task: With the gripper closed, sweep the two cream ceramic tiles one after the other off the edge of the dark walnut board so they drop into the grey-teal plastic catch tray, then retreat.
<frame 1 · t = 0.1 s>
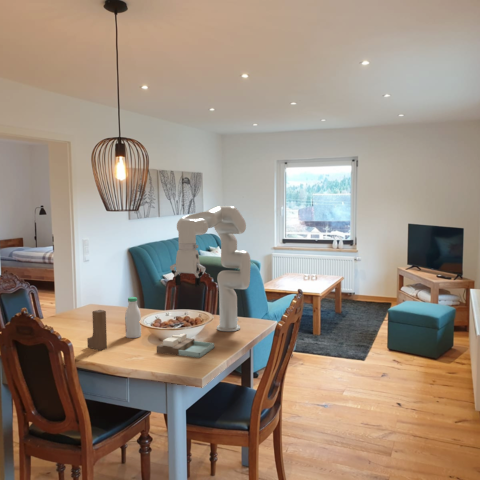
hand: (187, 285, 203), 31 cm above the table, fingers open, 9 cm apart
catch tray: (196, 351, 209), on the table
tile a: (179, 339, 217), point 3 cm above the table, touching walnut board
walnut board: (176, 348, 213), on the table
wooden block: (97, 348, 215), on the table
milk bottle: (133, 336, 234), on the table
tile b: (170, 344, 210), point 3 cm above the table, touching walnut board
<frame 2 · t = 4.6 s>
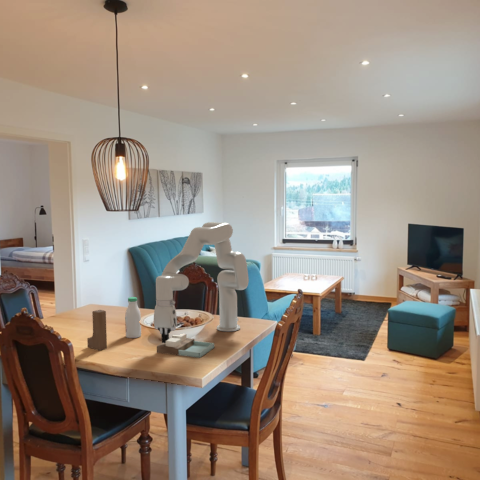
hand: (165, 342, 210), 4 cm above the table, fingers closed
tile b: (173, 345, 209), point 3 cm above the table, touching walnut board
everything else where it was.
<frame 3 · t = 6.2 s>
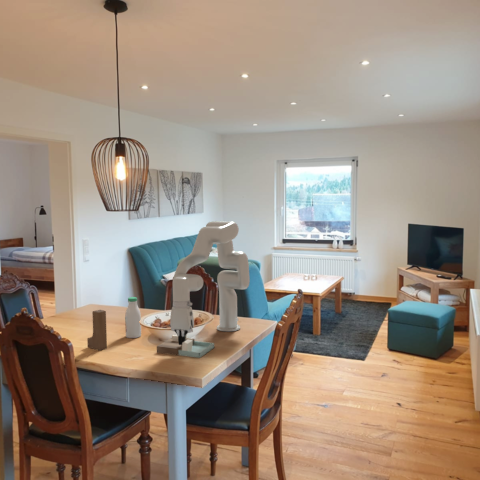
hand: (182, 344, 207), 4 cm above the table, fingers closed
tile b: (184, 346, 206), point 3 cm above the table, tilted 95°, touching catch tray
everything else where it was.
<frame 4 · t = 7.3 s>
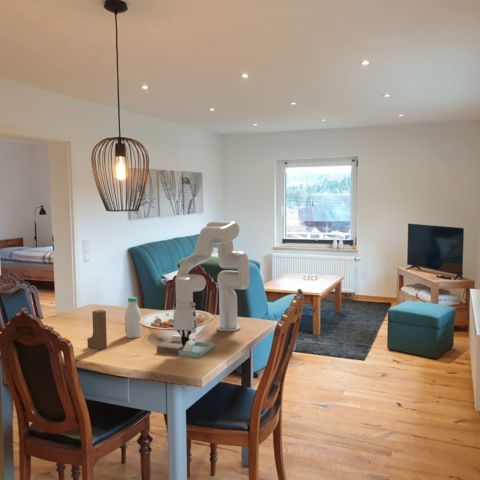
hand: (185, 344, 207), 4 cm above the table, fingers closed
tile b: (186, 345, 206), point 4 cm above the table, tilted 115°, touching catch tray, gripper
everything else where it was.
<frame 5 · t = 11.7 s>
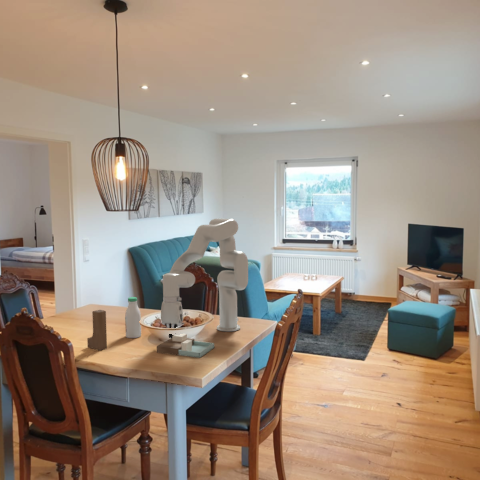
hand: (171, 337, 218), 4 cm above the table, fingers closed
tile a: (179, 340, 217), point 3 cm above the table, touching gripper, walnut board
tile b: (184, 346, 207), point 3 cm above the table, tilted 90°, touching catch tray
everything else where it was.
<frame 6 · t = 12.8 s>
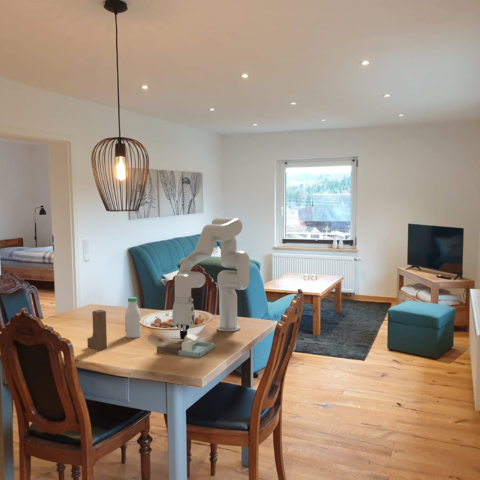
hand: (183, 338, 216), 4 cm above the table, fingers closed
tile a: (190, 341, 214), point 3 cm above the table, tilted 19°, touching walnut board
everything else where it was.
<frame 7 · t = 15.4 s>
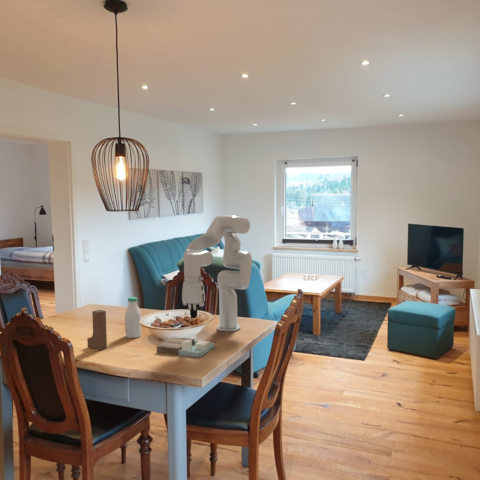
hand: (193, 317, 214), 14 cm above the table, fingers closed
tile a: (202, 342, 212), point 3 cm above the table, tilted 180°, touching catch tray
everything else where it was.
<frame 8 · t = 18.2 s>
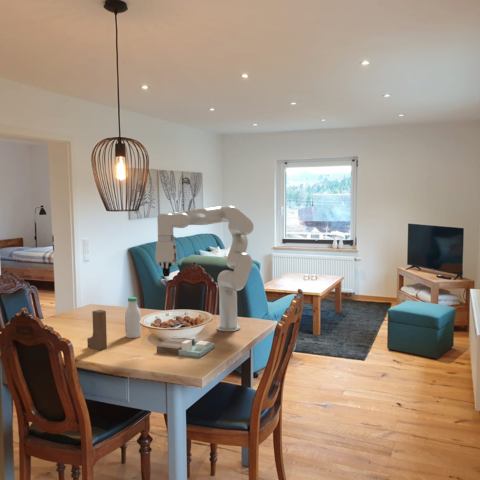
hand: (166, 276, 224), 32 cm above the table, fingers closed
nothing on the table moved.
at the end: tile b inside the target area on the catch tray (5.8 cm from its centre), point 3.0 cm above the catch tray's base; tile a inside the target area on the catch tray (3.9 cm from its centre), point 3.0 cm above the catch tray's base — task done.
